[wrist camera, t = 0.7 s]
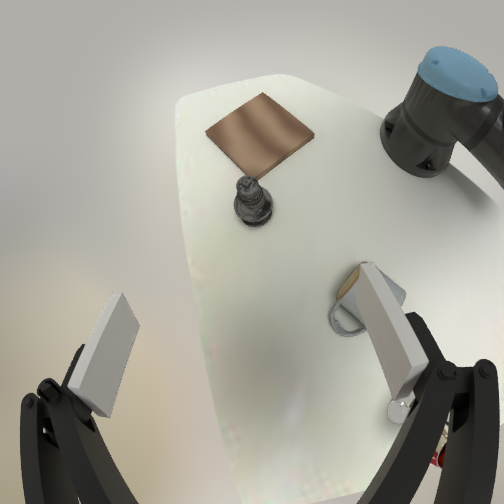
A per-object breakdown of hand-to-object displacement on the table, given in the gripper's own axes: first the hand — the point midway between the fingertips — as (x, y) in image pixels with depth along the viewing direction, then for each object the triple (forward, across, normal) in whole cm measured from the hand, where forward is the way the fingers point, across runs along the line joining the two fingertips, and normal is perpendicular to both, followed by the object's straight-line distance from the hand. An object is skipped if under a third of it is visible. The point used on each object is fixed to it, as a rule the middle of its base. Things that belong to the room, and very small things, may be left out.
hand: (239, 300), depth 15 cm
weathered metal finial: (+31, 0, -8) cm, 32 cm away
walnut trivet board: (+40, +3, +3) cm, 41 cm away
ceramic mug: (+19, +15, -21) cm, 32 cm away
